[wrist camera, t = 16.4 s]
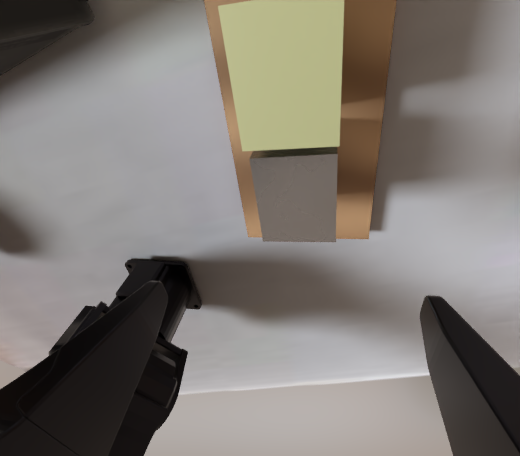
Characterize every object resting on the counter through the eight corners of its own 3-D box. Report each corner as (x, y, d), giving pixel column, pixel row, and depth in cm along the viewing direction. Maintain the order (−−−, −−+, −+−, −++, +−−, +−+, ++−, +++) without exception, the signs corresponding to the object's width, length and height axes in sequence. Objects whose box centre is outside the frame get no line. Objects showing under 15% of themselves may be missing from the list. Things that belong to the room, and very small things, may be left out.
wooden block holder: (366, 230, 22) (379, 305, 17) (250, 229, 24) (228, 296, 19) (429, -325, 9) (571, -784, 4) (169, -231, 11) (20, -447, 6)
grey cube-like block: (334, 194, 20) (335, 242, 16) (275, 195, 21) (262, 241, 17) (335, 118, 17) (337, 154, 13) (266, 123, 18) (249, 158, 14)
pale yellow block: (336, 104, 16) (339, 146, 12) (265, 110, 17) (242, 151, 13) (338, -10, 13) (344, -15, 9) (253, 4, 14) (217, 5, 10)
